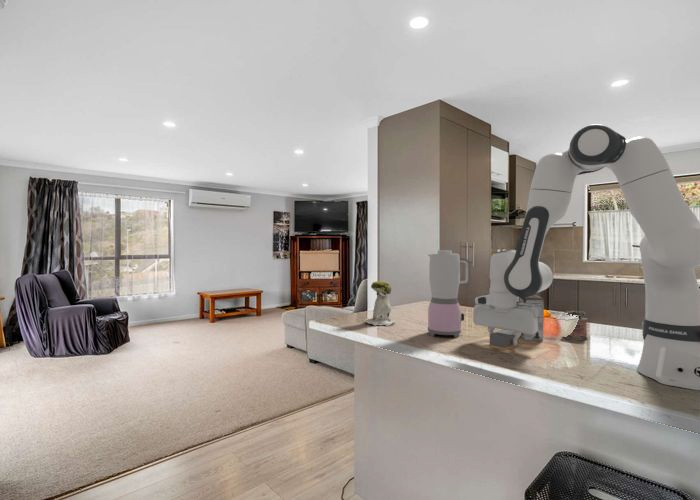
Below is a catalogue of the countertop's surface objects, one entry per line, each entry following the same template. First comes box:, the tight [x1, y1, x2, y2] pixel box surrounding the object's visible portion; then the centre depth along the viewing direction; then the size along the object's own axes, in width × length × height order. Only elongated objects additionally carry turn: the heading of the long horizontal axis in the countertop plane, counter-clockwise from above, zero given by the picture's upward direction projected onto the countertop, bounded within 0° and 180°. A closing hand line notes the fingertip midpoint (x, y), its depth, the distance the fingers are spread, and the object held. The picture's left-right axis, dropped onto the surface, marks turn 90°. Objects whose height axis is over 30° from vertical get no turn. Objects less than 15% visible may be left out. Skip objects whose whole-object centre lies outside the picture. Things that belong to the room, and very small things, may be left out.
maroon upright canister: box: [563, 310, 588, 341], centre depth 135 cm, size 8×3×10 cm, turn 76°
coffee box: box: [519, 294, 545, 342], centre depth 131 cm, size 9×6×16 cm
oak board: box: [464, 336, 552, 360], centre depth 119 cm, size 22×14×2 cm, turn 42°
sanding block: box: [489, 329, 519, 350], centre depth 120 cm, size 5×9×4 cm, turn 132°
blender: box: [427, 249, 471, 339], centre depth 141 cm, size 16×12×32 cm
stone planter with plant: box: [365, 280, 396, 327], centre depth 161 cm, size 12×13×18 cm
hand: (503, 343), depth 120 cm, fingers open, 5 cm apart
